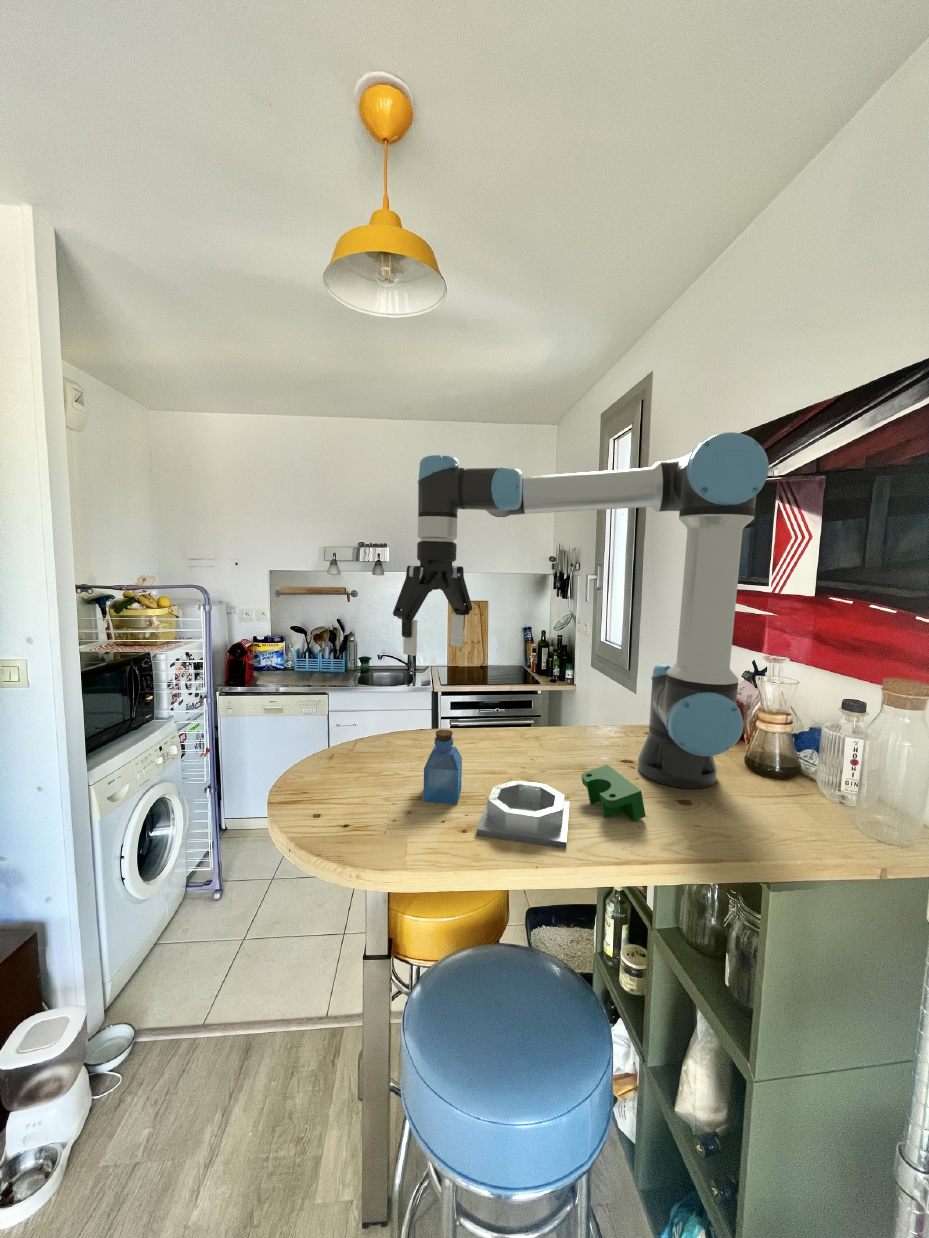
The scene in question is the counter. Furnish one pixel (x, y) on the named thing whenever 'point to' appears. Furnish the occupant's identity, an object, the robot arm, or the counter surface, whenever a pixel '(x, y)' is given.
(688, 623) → the robot arm
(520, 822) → the flange
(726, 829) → the counter surface
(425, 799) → the perfume bottle
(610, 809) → the clamp
